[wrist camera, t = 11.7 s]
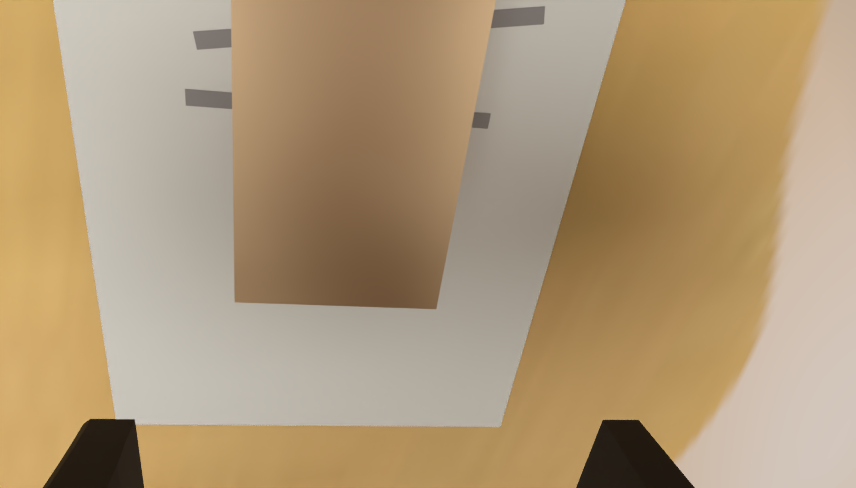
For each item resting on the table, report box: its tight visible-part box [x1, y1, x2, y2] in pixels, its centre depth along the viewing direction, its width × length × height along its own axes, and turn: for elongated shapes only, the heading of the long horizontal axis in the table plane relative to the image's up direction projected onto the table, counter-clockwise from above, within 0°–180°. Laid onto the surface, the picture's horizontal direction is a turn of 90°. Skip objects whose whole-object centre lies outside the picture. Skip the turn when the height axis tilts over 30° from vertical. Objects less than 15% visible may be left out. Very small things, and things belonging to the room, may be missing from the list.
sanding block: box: [231, 0, 496, 309], centre depth 15 cm, size 4×7×4 cm, turn 172°
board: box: [53, 0, 626, 427], centre depth 19 cm, size 12×18×1 cm, turn 172°
